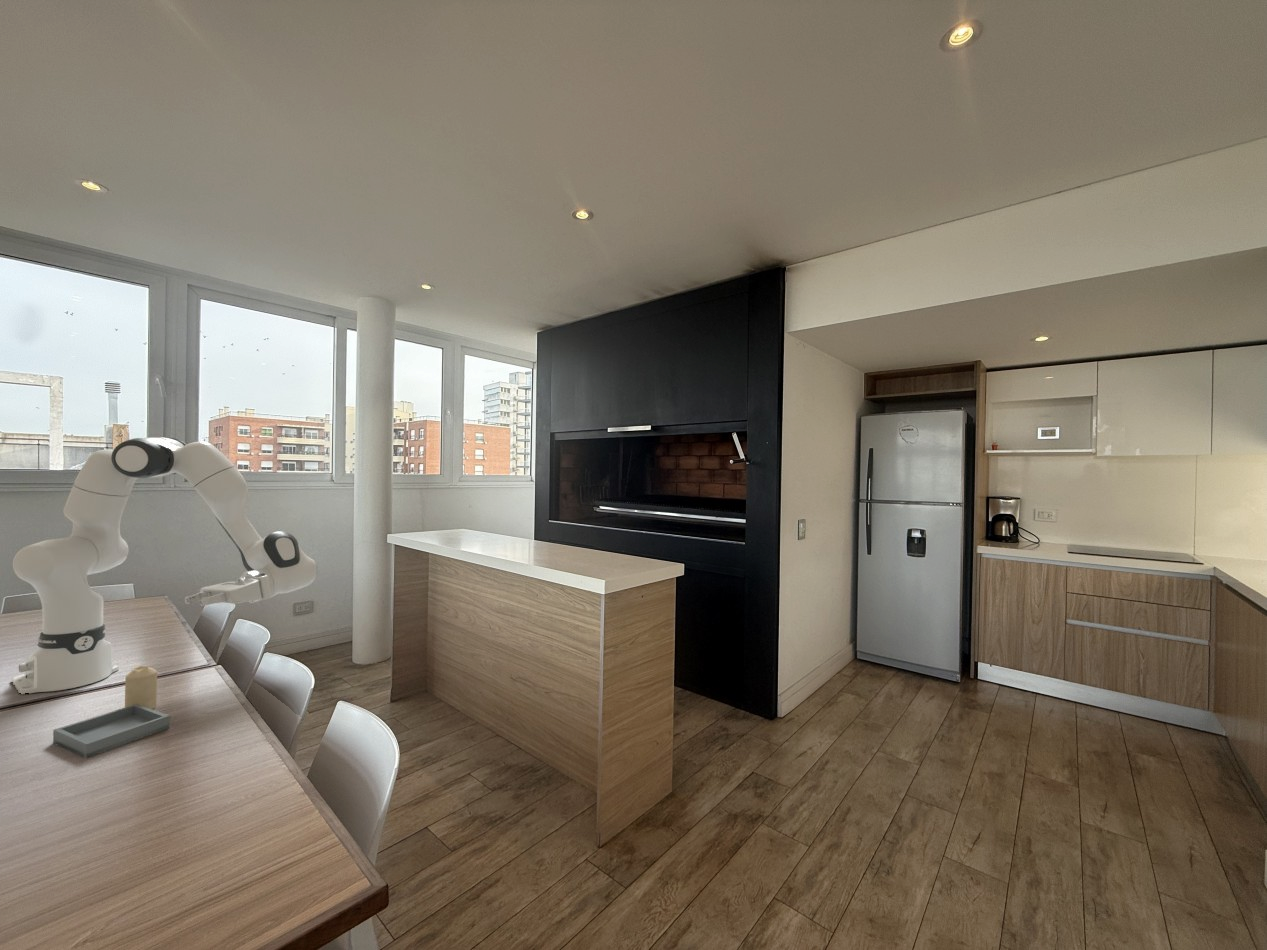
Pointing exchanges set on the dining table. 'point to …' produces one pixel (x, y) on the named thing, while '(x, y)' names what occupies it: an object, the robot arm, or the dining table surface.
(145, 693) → the candle
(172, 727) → the dining table surface
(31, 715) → the dining table surface
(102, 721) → the serving tray
